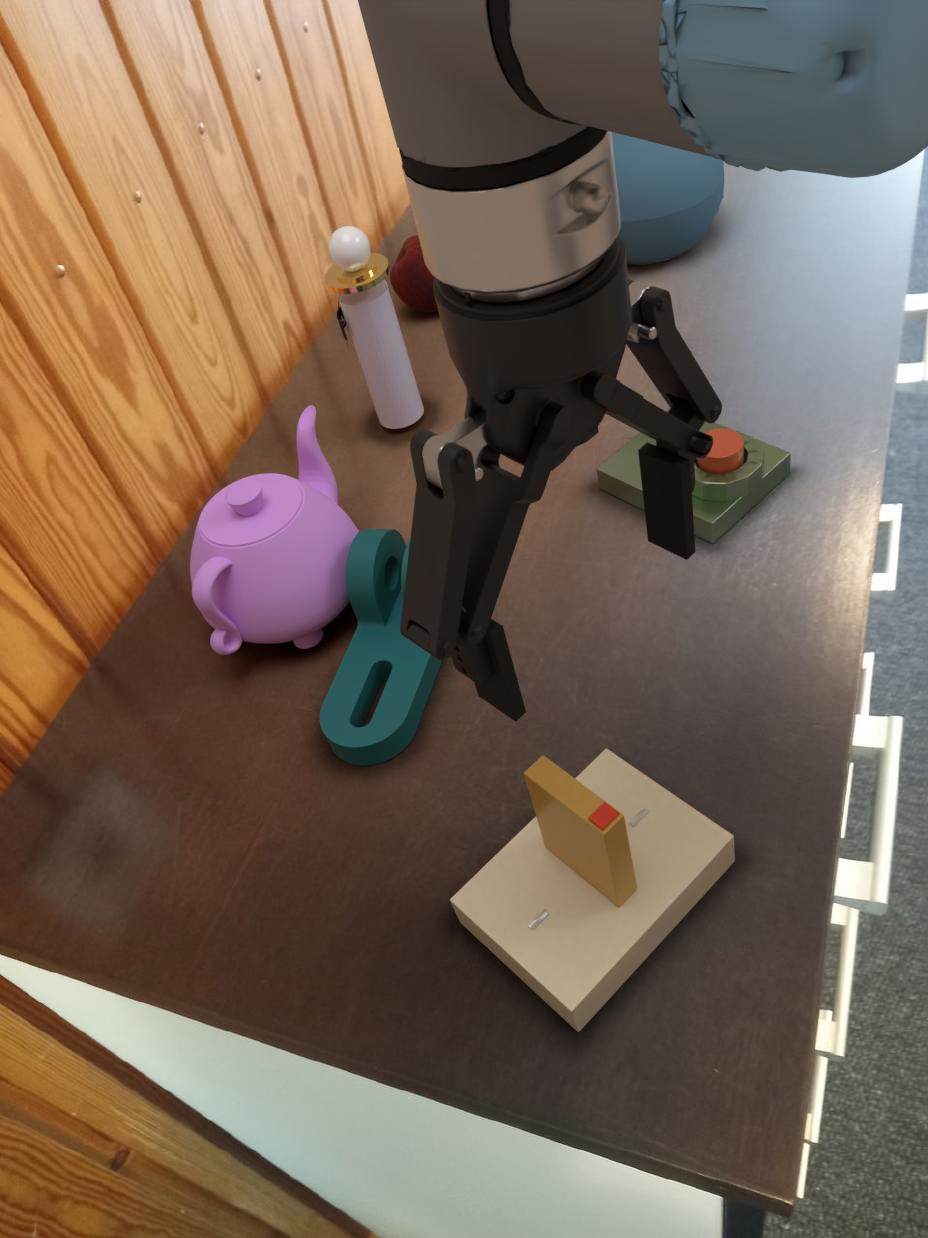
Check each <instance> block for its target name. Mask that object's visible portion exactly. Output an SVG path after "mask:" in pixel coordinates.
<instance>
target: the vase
mask: <svg viewBox="0 0 928 1238" xmlns="http://www.w3.org/2000/svg"><path fill="white" fill-rule="evenodd" d="M612 142H613V151H614V161H615V170H616V180H617V189H618V199H619V208H620V223H621V228H620V231H619V233H618V236H619V237H620V238H621V240H622V242H623V244H624V247H625V253H626V263H627V265H636V266H645V265H652V264H660V263H662V262H665V261H669V260H671V259H675V258H677V257H679V256H681V255H682V254H683V253H685V252H687V251H688V250H690V249H691V248H693V247H694V246H695V245H696V244H697V243H698V242H700V241H701V240H702V239H703V237H704V235H705V234H706V232H707V231H708V230H709V228H710V226H711V225H712V223H713V221H714V219H715V217H716V215H717V214H718V212H719V209H720V207H721V204H722V201H723V199H724V191H725V190H724V189H725V162H724V161H723V160H721V159H715V158H713V157H710V156H706V155H702V154H698V153H694V152H690V151H686V150H682V149H678V148H674V147H670V146H666V145H662V144H658V143H654V142H650V141H646V140H642V139H638V138H634V137H630V136H626V135H622V134H618V133H614V132H612Z"/></svg>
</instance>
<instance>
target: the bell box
mask: <svg viewBox="0 0 928 1238" xmlns="http://www.w3.org/2000/svg"><path fill="white" fill-rule="evenodd" d="M669 410H670V408H668V409H667V410H665V411H666V412H668V411H669ZM714 429H730V430H734V431H736V432H738V433H739V434H740V435H741V436H742V438H743V440H744V462H743V464H742V465H741V466H740V467H739V468H738V469H737V470H734V471H731V472H728V473H725V474H710V473H707V472H705V471H703V470H702V469H701V468H700V467H699V465H698V463H697V457H696V456H694V465H695V467H694V468H695V473H694V474H695V487H694V491H693V492H692V504H693V520H694V536H696V537H698V538H700V539H702V540H705V541H706V542H709V543H711V544H715V542H717V541H718V540H720V539H721V537H722V536H723V535H725V534H726V533H727V532H728V531H729V530H730V529H731V528H732V527H733V526H735V525H736V524H737V523H738V522H739V521H740V520H741V519H742V518H744V516H745V515H746V514H748V513H749V512H750V511H751V510H752V509H753V508H754V507H755V506H756V505H758V504H759V503H760V502H761V501H762V500H763V499H764V498H765V497H766V496H767V495H769V494H770V493H771V492H772V491H773V490H774V489H775V488H776V487H778V485H779V484H781V482H783V481H784V480H785V479H786V478H787V477H788V476H789V475H790V474H791V454H792V453H791V452H790V451H788V450H785V449H783V448H779V447H777V446H775V445H773V444H769V443H767V442H765V441H763V440H760V439H757V438H755V437H753V436H751V435H748V434H746V433H743V432H741V431H739V430H738V431H737V430H735V429H732V428H730V427H728V426H725V425H722V424H720V423H717V422H716V421H715V422H714V423H711V424H710V423H707V422H705V423H704V424H703V426H702V427H701V428H700V430H699V431H700V432H703V433H706V432H708V431H711V430H714ZM647 442H648V443H651V444H653V445H655V446H656V440H655V439H652V438H650V437H648V436H646V435H644V434H643V433H641V432H639V433H638V434H636V436H634V437H633V438H632V439H630V441H629V442H627V443H626V444H625V445H624V446H622V447H621V448H620V449H619V450H617V451H616V452H615V453H614V454H612V455H611V456H610V457H609V458H608V459H606V460H605V461H604V462H603V463H602V464H600V465H599V466H598V467H597V468H596V476H597V483H598V488H599V489H600V490H601V491H604V492H605V493H608V494H609V495H611V496H613V497H617V498H618V499H620V500H621V501H624V502H626V503H628V504H630V505H632V506H635V507H637V508H639V509H640V510H642V511H645V509H644V500H643V491H642V482H641V472H640V463H639V454H638V450H639V449H640V448H641V447H642V446H643V445H645V444H646V443H647Z"/></svg>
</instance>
